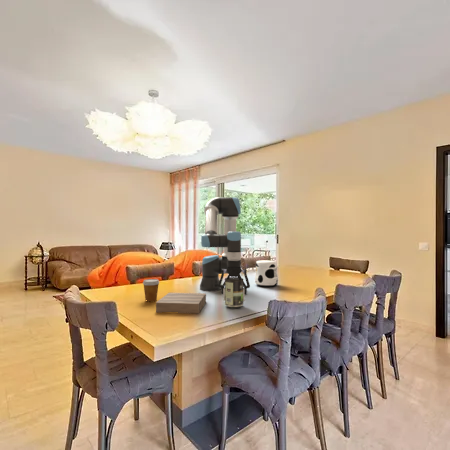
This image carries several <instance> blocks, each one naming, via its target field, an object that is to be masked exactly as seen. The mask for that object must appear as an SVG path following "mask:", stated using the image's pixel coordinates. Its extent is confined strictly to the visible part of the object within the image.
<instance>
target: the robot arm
mask: <svg viewBox="0 0 450 450" xmlns="http://www.w3.org/2000/svg"><path fill="white" fill-rule="evenodd" d="M240 202H241V201H240V199H239V198H238V197H233V196H231V197H229V196H228V197H227V196H225V197H224V196H223V197H222V196H221V197H220V196H216V197H214V198H212V199H210V200H208V201H207V203H206V204H205V206H204V209H203V210H204V212H203V213H204V215H205V223H204V226H205V228H204V234H202V235H200V236H201V238H200V239H201V241H200V243H201V247H202V248H207V249H208V248H223V253H222V254H221V257H220V256H219V255H218V254H215V255H214V254H213V255H212V254H211V255H206V256H204V257H203V258H202V261H201V262H202V263H201V265H202V268H201V269H202V275H201V276H202V278H201V280H200V284H199V290H201V291H209V292H211V291H214V292H215V291H221V295H222V300H223V301H224V302H225V281H223V279H224V275H226V274H227V277H225V278H226V279H229V278H230V277H238V278H239V280H242V278H243V277H242V275H241V273H242V274H243V275H244V278H245V279H244V280H245V281H244V280H243V302H245V300H246V299H245V298H246V297H245V295H247V292H248V291H247V289H250V287H251V284H250V282H249V278H248V277H249V276H248V274H247V272H248V270H247V269H246V268H245V269H242V261H241V259H242V233H241V231H237V219H238V218H239V216H240V215H241V212H242V211H241V208H242V207H241V203H240ZM218 215H221V217H222V218H223V234H222V233H221V234H219V233H218ZM219 274H220V275H219ZM219 276H220V277H219ZM245 282H246V283H245ZM222 283H223V284H222Z"/></svg>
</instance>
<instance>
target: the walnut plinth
mask: <svg viewBox="0 0 450 450" xmlns="http://www.w3.org/2000/svg"><path fill="white" fill-rule="evenodd" d="M155 302H156V303H155V313H162V312H178V313H177V314H191V313H199V314H200V312H201V310H202V309H203V307H204V306H205V304H206V302H207V293H201V292H199V293H197V292H196V293H194V292H168V293H166V295H164V296H163V297H161V298H160V299H158V300H156V301H155Z"/></svg>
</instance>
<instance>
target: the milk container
mask: <svg viewBox="0 0 450 450" xmlns="http://www.w3.org/2000/svg"><path fill="white" fill-rule="evenodd" d="M278 276H279V275H278V263H277V261H276V260H268V259H267V260H266V259H265V260H264V259H263V260H256V261H255V275H254V283H255V284H256V285H257V286H259V287H265V288H266V287H275V286H277V285H278V283H279V277H278Z"/></svg>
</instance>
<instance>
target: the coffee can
mask: <svg viewBox="0 0 450 450" xmlns="http://www.w3.org/2000/svg"><path fill="white" fill-rule="evenodd" d="M226 278H227V277H224V282H225V286H224V288H225V301H224V306H225V307H229V308H239V307H240V308H241V307H242V306H244V301H243V288H244V287H243V281H244V278H243V277H241V278H242V280H239V278H238V277H231V276H230V278H229V279H226Z"/></svg>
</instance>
